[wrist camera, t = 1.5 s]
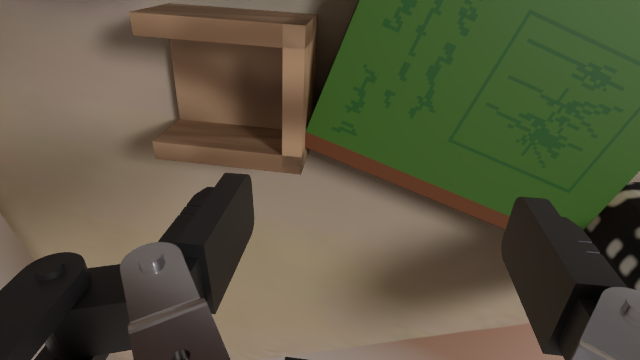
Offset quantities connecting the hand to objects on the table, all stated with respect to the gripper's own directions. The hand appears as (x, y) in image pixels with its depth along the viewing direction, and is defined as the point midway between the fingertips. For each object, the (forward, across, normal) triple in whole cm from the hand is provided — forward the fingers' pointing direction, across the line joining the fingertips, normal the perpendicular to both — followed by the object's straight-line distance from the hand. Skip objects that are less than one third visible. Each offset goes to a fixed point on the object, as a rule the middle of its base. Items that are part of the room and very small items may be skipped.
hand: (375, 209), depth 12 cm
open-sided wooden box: (+22, +11, +2) cm, 25 cm away
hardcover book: (+22, -9, +2) cm, 24 cm away
